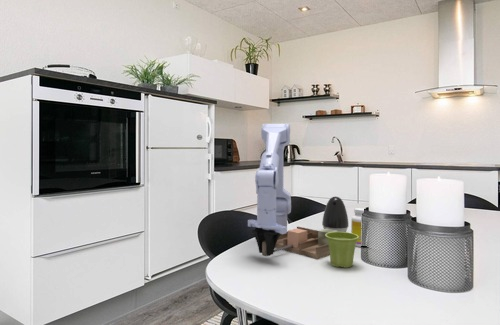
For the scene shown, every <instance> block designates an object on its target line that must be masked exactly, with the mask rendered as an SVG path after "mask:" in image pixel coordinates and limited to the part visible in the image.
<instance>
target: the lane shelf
mask: <svg viewBox="0 0 500 325" xmlns="http://www.w3.org/2000/svg"><path fill="white" fill-rule="evenodd" d="M296 229H302V230H307V241H305V242H302V243H299V248H295V247H290V248H287V249H283V250H282V251H286V252H290V253H294V254H297V255H300V256H304V257H308V258H311V259H316V260H319V259H321V258H325V257H328V256H330V252H329V245H328V241H327V237H326V236H325V234H326V233H329V232H338V231H337V230H331V229H324V228H323V229H321V230H317V229H313V228H312V229H311V228H306V227H302V226H296ZM288 231H289V230H287V233H286V234H281V235H280V236H279V238H278V240H277V242H276V245H275V248H274V249H279V248H282V247H286V246H287V242H288Z"/></svg>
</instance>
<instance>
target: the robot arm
mask: <svg viewBox="0 0 500 325" xmlns="http://www.w3.org/2000/svg"><path fill="white" fill-rule="evenodd" d="M260 132H261V134H260V135H261V139H262V140H263V143H264V144H265V148H266V149H265V152H263V153H262V155H261V157H260V163H259V167H258V171H257V170H256V171H255V176H254V178H255V180H254V181H255V192H256V195H257V200H256V201H257V202H256V208H257V210H256V211H257V212H256V213H257V214H256V217H257V218H256V219H248V220H247V227H250V228H251V227H253V228H254V229H251V231H252V234H253V236H254V238H255V241H256V243H257V248H258V252H259V254H262V241H266V252H267V255H270V256H271V255H274V253H275V252H274V250H275V249H276V248H275V245H276V242H277V240H278V238H279V236H280V235H281V234H286V233H287V231H288V215H290V213H291V212H292V198H291V196H292V195H291V193H290V192H289V191H287V190H286V188H284V150H285V148H286V146H289V145H290V143H291V125H290V123H289V122H287V123H262V125H261V130H260Z"/></svg>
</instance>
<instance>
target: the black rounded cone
mask: <svg viewBox="0 0 500 325" xmlns="http://www.w3.org/2000/svg"><path fill="white" fill-rule="evenodd" d="M321 223H322V227H323V229H331V230H337V231H338V232H347V231H348V228H349V216H348V212H347V208H346V205H345V203H344V201H343V199H342V198H341V197H339V196H332V197H330V198H329V199H328V201H327V202H326V206H325V209H324V212H323V216H322V222H321Z"/></svg>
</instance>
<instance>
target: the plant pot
mask: <svg viewBox="0 0 500 325" xmlns="http://www.w3.org/2000/svg"><path fill="white" fill-rule="evenodd" d="M325 236H326V237H327V241H328V245H329V252H330V255H329V258H330V264H331V266H334V267H335V268H339V267H341V268H345V269H346V268H350V267H352V266H353V264H354V256H355V252H356V250H355V249H356V246H355V245H356V243H357V239H358V238H359V236H358V235H356V234H353V233H351V232H347V231H346V232H329V233H326V234H325Z"/></svg>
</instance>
